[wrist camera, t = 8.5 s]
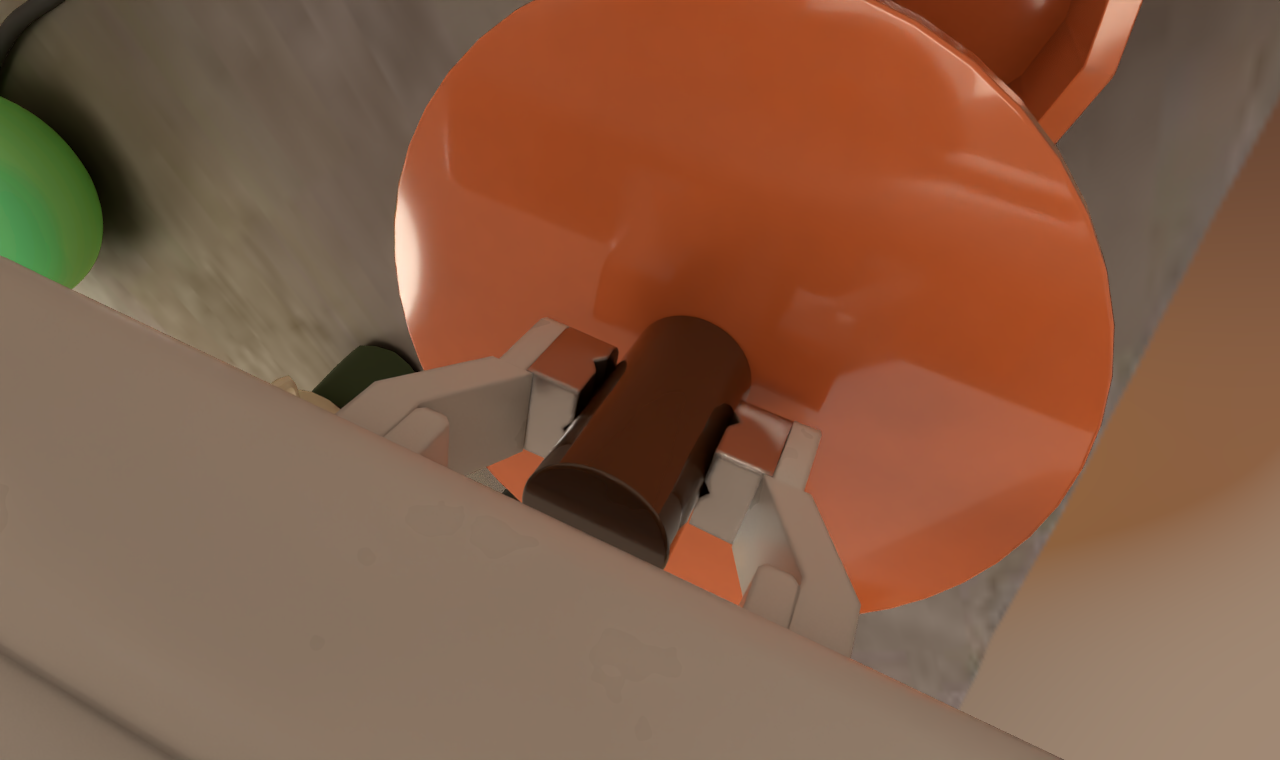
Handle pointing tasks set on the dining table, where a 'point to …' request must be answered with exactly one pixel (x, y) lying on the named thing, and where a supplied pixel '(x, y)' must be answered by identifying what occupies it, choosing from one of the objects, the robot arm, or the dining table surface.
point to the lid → (768, 272)
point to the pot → (1041, 47)
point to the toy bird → (45, 200)
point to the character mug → (350, 377)
